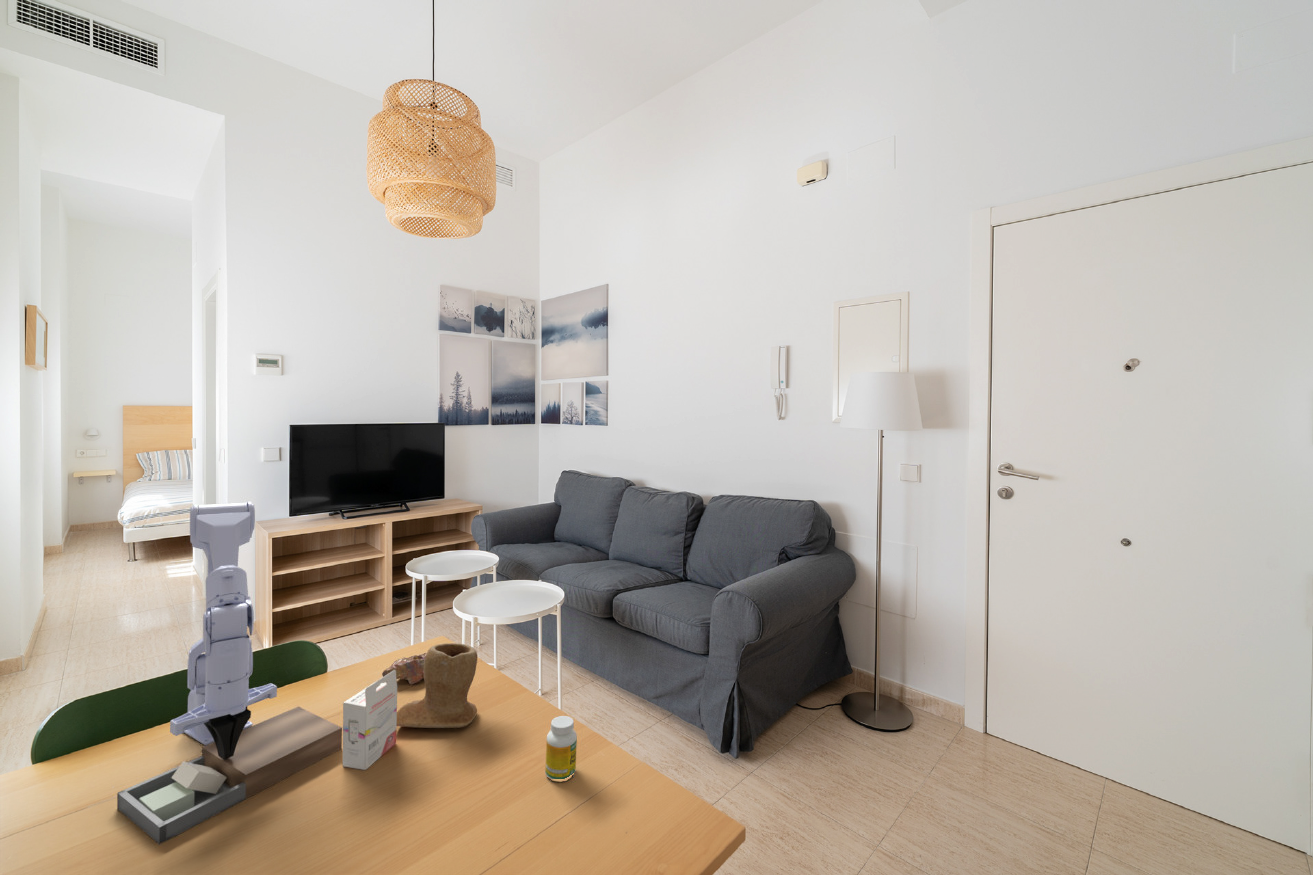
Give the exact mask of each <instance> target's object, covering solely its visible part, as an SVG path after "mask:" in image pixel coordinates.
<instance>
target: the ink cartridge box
mask: <svg viewBox="0 0 1313 875" xmlns="http://www.w3.org/2000/svg"><path fill="white" fill-rule="evenodd" d="M397 680H398V679H396V670H393V671H392V672H390V673H389V674H387V675H385V676H384V677H383V676H382V677H380V679H377V680H376V681H374V682H372V683H371V684H370V685H368V686H366V687H365V688H363V689H362V690H360V691H359V692H358V693H356V694H354V695H353V696H351V697H350V698H348V699H346V700H345V701H344V702H342V705H343V706H342V710H343V711H342V767H346V768H350V769H351V768H352V769H356V770H363V771H365V770H368V769H369V768H370V767H371V765H373V764H374V763H375V762H377V760H379V759H381V757H382V756H384V755H385V753H387V752H388V751H389V750H390V749H391V748H393V747H394V746H395V745H396V744H397V726H396V723H397V711H398V710H397V709H398V682H397Z"/></svg>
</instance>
